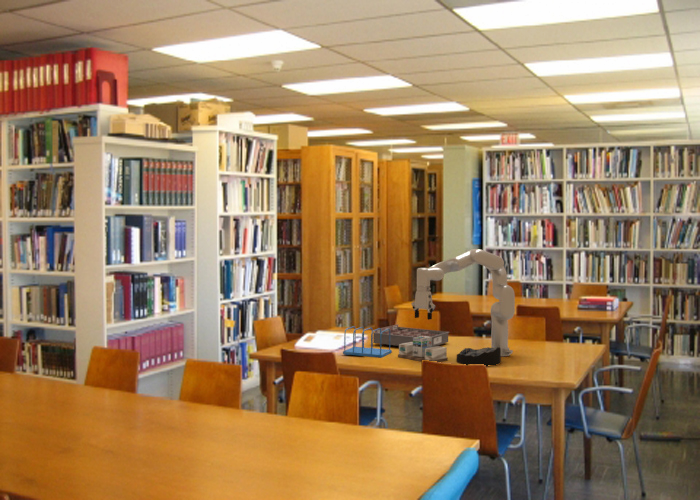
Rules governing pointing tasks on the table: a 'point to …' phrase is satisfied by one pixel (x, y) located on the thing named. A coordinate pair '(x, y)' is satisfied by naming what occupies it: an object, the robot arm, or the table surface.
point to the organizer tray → (408, 335)
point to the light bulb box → (421, 345)
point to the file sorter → (367, 351)
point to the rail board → (430, 353)
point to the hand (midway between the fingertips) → (423, 318)
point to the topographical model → (480, 356)
